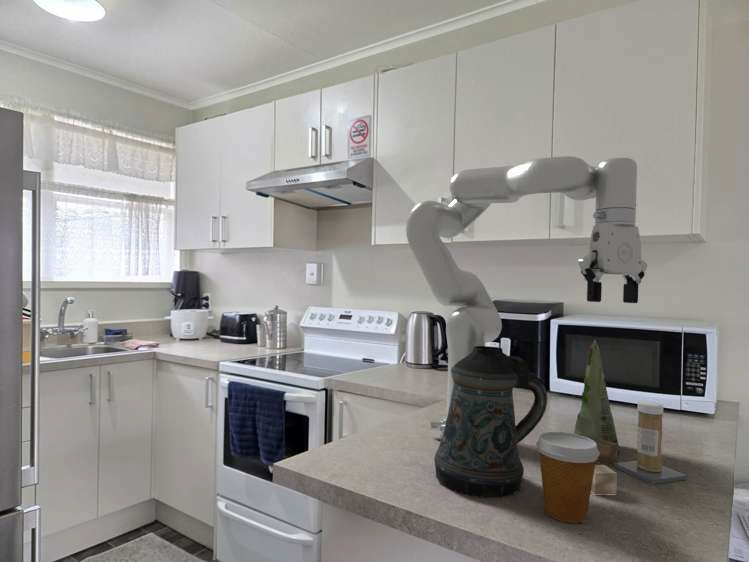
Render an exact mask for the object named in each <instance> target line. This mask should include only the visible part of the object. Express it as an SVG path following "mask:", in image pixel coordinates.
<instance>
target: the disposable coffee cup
mask: <svg viewBox="0 0 749 562" xmlns="http://www.w3.org/2000/svg"><path fill="white" fill-rule="evenodd" d="M535 445H536V447H537V450H538V453H539V461H540V473H541V474H540V475H541V483H542V495H543V503H544V504H543V505H544V512H545V514H546V516H549V518H552V519H554V520H556V519H557V521H558V520H559V522H562V521H564V522H563V523H566V522H570V523H569V524H580V523H579V522H582V523H584V522H585V521H586V520H587V518H586V517H587V516H588V510H589V504H590V498H591V494H592V493H591V487H592V481H593V476H594V470H595V465H597V464H596V463H597V462H596V460H597V459H598V456H599V455H600V452H599V450H598V449H597V444H596V442H595V441H593V440H591V439H589V438H587V437H584V436H580V435H576V434H574V433H571V432H570V433H569V432H564V431H563V432H561V431H549V432H548V431H547V432H542V433H541V434H540V435H539V438H538V440H537V441H536V444H535ZM584 520H585V521H584ZM583 521H584V522H583Z"/></svg>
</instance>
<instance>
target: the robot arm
mask: <svg viewBox="0 0 749 562" xmlns="http://www.w3.org/2000/svg"><path fill="white" fill-rule="evenodd" d="M637 179H638V164H637V161H635V159H633V158H629V157H612V158H607V159H604V160H602V161H600V162H599V164H598V165H597V166H592V165H590V164H588V162H587V161H585V160H584V159H582V158H580V157H577V156H567V155H565V156H564V155H563V156H553V157H551V156H550V157H542V158H533V159H530V160H526V161H523V162H520V163H517V164H515V165H514V164H513V165H506V166H505V165H504V166H494V167H482V168H480V167H479V168H469V169H462V170H460V171H458V172H456V173H455V174H454V175H453V176H452V178H451V179H450V182H449V193H450V194H451V195H450V196H452V198H453V199H454V200H452V201H451V203H449V204H445V203H442V202H439V201H435V200H424V201H422V202H419V203H418V204H416V205H415V206H413V208H412V209H411V211H410V213H409V214H408V215H409V216H408V218H407V220H406V221H407V222H406V227H405V230H406V231H405V232H406V233H405V234H406V239H407V242H408V246H409V247H410V250H411V252H412V253H413V255H414V257H415V259H416V261H417V264H418V265H419V267H420V269H421V271H422V274H423V275H424V277H425V280H426V282H427V285H428V286H429V288H430V289H431V293H432V294H433V296H434V298H435V300H436V301H437V302H438V303H439V304H440V305H443V306H445V307H456V309H455V310H454V311H453V312H452V313H451V314H450V315H449V317H448V318H447V321H446V326H445V335H446V336H445V337H446V341H447V386H446V387H447V388H446V389H447V391H446V392H447V393H446V413H445V414H444V415H442V418H440V419H439V420H428V421H427V428H428V430H437V431H438V432H439V433H438V434H439V435H440V436H441V437H442V436H443V433H444V430H445V425H446V421H447V416H448V411H449V406H450V400H451V395H452V390H453V384H454V382H453V379H452V374H451V369H452V367H453V366H454V365H455V364H456V363H457V362H458V361H460V360H462V359H463V358H465V357H466V356H468V355H469V354H470V353H472V352H473V349H474V347H475V346H486V344H488V343H491V342H494V341H495V340H496V339H497V338H498V337H499V336H500V334H501V331H502V328H503V325H502V324H503V323H502V319H501V316H500V314H499V312H498V309H497V307H496V306H495V303H494V302H493V300H492V299H491V296H490V294H489V293H488V291H487V289H486V287H485V285H484V283H483V282H482V281H481V279H480V278H479V277H478V276H477V275H476V274H475V273H473V272H471V271H468V270H464V269H463V270H462V269H461V268H459V266H458V265H457V263H456V261H455V259H454V258H453V256H452V253H451V251H450V250H449V248H448V246H447V245H446V244H445V243H444V242H443V240H442V239H441V238H446V239H449V238H451V239H452V238H454V237H457V236H459V235H460V234H461V233H462V232H464V231H465V230H466V229H467V228H468V227H469V226H471V224H473V223H474V222H475V221H476V220H477V219H478V218H479V217H480V216H481V215H483V213H485V212H486V211H487V209H488V208H489V207H491V205H492V204H507V203H508V204H512V203H515V202H518V201H519V200H520V199H521V198H523V197H524V196H529V195H534V194H535V195H536V194H549V193H550V194H551V193H552V194H553V193H554V194H555V193H561V194H563V195H565V196H566V197H568V198H569V199H571V200H574V201H586V200H590V199H595V211H594V212H593V214H592V217H593V219H594V225H593V226H592V230H591V233H590V234H591V235H590V239H589V245H588V247H589V248H588V254H586V255H585V256H583V257H581V258H579V259H578V261H577V262H578V265H579V268H580V273H581V274H582V276H583V277H584V281H585V282H586V283H587V284H586V287H587V289H586V301H587V302H592V303H600V302H601V301H602V292H603V291H602V288H603V287H602V285H603V284H602V281H600V280H601V279H602V277H603V276H604V275H621V276H622V278H623V280H624V281H625V283H623V293H622V295H623V296H622V302H623V303H625V304H638V303H639V285H641V283H642V279H643V278H644V277H645V273H646V271H647V269H648V263H647V262H645V261H644V260H643V259H642V243H641V236H640V235H641V234H640V230H639V226H636V219H637V218H636V214H637V189H638V187H637V182H638V180H637Z"/></svg>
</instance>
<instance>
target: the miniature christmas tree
mask: <svg viewBox="0 0 749 562" xmlns="http://www.w3.org/2000/svg"><path fill="white" fill-rule="evenodd" d="M592 342H593V343H591V345H590V347H589V349H588V350H589V351H588V354H587V360H586V371H585V376H584V378H583V391H582V393H581V396H580V398H581V404H580V405H581V406H580V409H579V412H578V414H577V419H576V421H575V426H574V430H573V434H576V435H580V436H584V437H587V438H589V439H591V440H593V441H594V440H597V439H602V440H605V441H609V442H613V443H617V453H619V451H620V445H619V440H618V437H617V431H616V426H615V422H614V417H613V413H612V409H611V405H610V404H611V403H610V401H609V394H608V390H607V385H606V381H607V380H606V377H605V374H604V369H603V364H602V363H603V362H602V357H601V350H600V348H599V344H598V341H597V340H596V339H594V340H593V341H592Z"/></svg>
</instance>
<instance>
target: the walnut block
mask: <svg viewBox="0 0 749 562" xmlns="http://www.w3.org/2000/svg"><path fill="white" fill-rule="evenodd" d="M594 441H595V442H596V444H597V449H598V450H599V452H600V455H599V456H598V459H597V460H596V463H597V462H599V463H598V464H601V463H602V464H601V465H604V464H605V466H607V465H608V466H607V467H609V465H610V466H612V465H614V464H615V462H616V463H618V452H617V443H613V442H609V441H605V440H602V439H597V440H594ZM613 463H614V464H613ZM611 464H612V465H611Z"/></svg>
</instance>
